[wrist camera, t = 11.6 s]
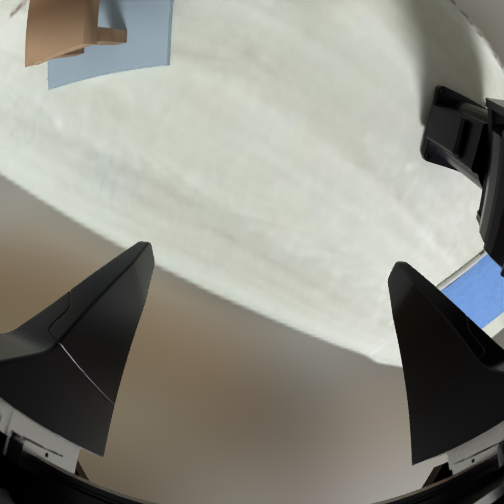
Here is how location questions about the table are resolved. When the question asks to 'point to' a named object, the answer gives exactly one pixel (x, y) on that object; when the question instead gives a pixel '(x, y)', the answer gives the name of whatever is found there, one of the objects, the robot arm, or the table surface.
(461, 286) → the tablet computer
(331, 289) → the table surface
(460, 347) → the robot arm
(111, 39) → the walnut stool
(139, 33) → the slate mat
